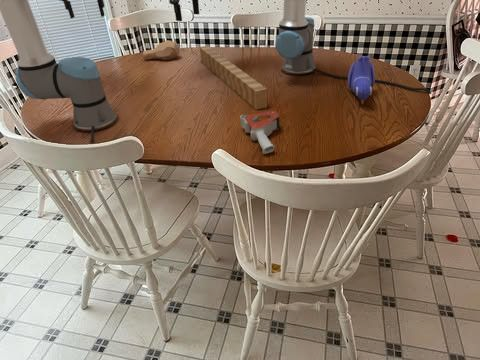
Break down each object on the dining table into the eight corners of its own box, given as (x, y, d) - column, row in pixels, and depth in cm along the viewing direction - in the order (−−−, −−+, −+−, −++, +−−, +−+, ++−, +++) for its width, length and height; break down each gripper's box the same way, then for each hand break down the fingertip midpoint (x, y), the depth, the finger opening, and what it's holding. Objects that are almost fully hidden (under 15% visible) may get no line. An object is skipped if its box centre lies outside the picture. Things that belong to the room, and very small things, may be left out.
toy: (345, 95, 151) (349, 109, 128) (348, 53, 144) (352, 60, 122) (370, 95, 149) (378, 108, 126) (374, 52, 142) (383, 59, 120)
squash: (180, 60, 189) (175, 44, 182) (144, 67, 191) (138, 52, 184) (182, 51, 196) (177, 35, 190) (147, 58, 198) (141, 42, 192)
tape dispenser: (269, 161, 108) (297, 129, 121) (269, 147, 105) (298, 115, 117) (221, 145, 116) (252, 116, 128) (220, 131, 112) (252, 103, 125)
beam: (267, 107, 136) (267, 88, 132) (256, 109, 135) (255, 91, 131) (209, 60, 187) (208, 45, 182) (201, 61, 185) (199, 47, 181)
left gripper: (105, -43, 147) (118, 13, 159) (45, -39, 148) (63, 16, 160) (99, -41, 141) (113, 17, 153) (37, -37, 142) (56, 20, 154)
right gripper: (190, -42, 156) (196, 11, 169) (154, -35, 139) (164, 23, 151) (205, -42, 153) (209, 11, 166) (170, -35, 136) (178, 24, 148)
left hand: (87, 16), depth 157 cm, fingers open, 13 cm apart
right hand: (188, 17), depth 159 cm, fingers open, 13 cm apart
